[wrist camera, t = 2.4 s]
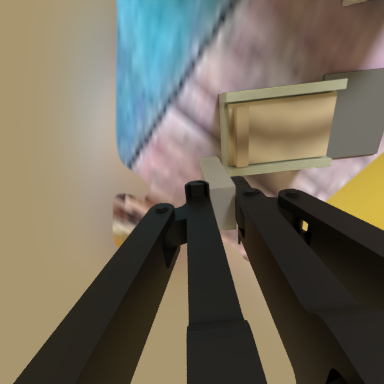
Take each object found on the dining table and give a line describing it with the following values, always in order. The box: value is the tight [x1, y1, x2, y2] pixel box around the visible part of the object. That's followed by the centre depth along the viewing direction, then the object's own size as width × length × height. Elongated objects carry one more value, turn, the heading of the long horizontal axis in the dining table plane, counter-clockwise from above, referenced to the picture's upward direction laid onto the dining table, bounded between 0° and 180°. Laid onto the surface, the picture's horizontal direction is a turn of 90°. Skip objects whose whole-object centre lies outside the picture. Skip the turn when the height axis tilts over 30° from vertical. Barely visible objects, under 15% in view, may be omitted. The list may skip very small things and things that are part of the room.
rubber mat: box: [323, 68, 384, 158], centre depth 34 cm, size 14×12×1 cm
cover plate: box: [228, 92, 337, 167], centre depth 29 cm, size 9×15×4 cm, turn 96°
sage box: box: [219, 78, 348, 177], centre depth 32 cm, size 12×16×7 cm
